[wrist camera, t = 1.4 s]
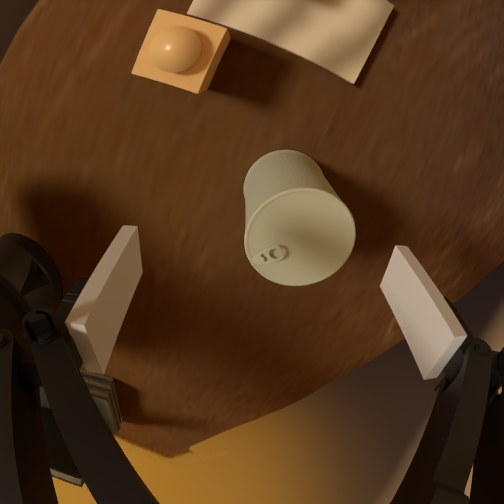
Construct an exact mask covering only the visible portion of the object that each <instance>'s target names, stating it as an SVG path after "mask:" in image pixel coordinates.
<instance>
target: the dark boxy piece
mask: <svg viewBox="0 0 504 504" xmlns="http://www.w3.org/2000/svg"><path fill="white" fill-rule="evenodd" d="M80 372H81V374H82V376H83V379H84V381H85V383H86V385H87V387H88V389H89V391H90V393H91V395H92V397H93V399H94V401H95V403H96V405H97V407H98V409H99V411H100V413H101V415H102V416H103V418H104V420H105V422H106V424H107V425H108V427H109V429H110V431H111V432H112V434H113V435H116V436H119V431H120V427H121V422H122V418H123V416H122V415H121V411H120V406H119V402H118V398H117V393H116V388H115V383H114V378H113V377H109V376H106V375H102V374H98V373H94V372H89V371H87V370H84V369H81V368H80ZM40 399H41V411H42V420H43V428H44V436H45V443H46V449H47V455H48V460H49V465H50V470H51V475H52V477H55V478H58V479H60V480H63V481H65V482H68V483H71V484H73V485H76V486H79V487H82V486H83V484H84V480H83V478H82V476H81V474H80V473H79V471H78V469H77V467H76V465H75V463H74V461H73V459H72V457H71V455H70V453H69V451H68V448H67V446H66V444H65V442H64V440H63V437H62V435H61V433H60V430H59V428H58V426H57V423H56V421H55V418H54V416H53V413H52V411H51V408H50V405H49V403H48V400H47V397H46V394H45V391H44V388H43V387H40Z"/></svg>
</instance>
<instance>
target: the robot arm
mask: <svg viewBox="0 0 504 504" xmlns="http://www.w3.org/2000/svg"><path fill="white" fill-rule="evenodd" d="M142 273H143V270H142V262H141V254H140V245H139V236H138V226H126V225H123V226H122V228H121V229H120V231H119V232H118V234H117V235H116V237H115V238H114V240H113V241H112V243H111V244H110V246H109V248H108V249H107V251H106V252H105V254H104V255H103V257H102V259H101V260H100V262H99V263H98V265H97V267H96V268H95V270H94V272H93V273H92V275H91V277H90V278H79V279H78V280H76V281H75V282H74V283H73V284H72V285H71V286H70V288H69V289H68V291H67V293H66V294H65V296H64V298H63V299H62V301H61V303H60V304H59V302H60V300H61V298H62V292H63V289H62V282H61V279H60V276H59V273H58V271H57V269H56V267H55V265H54V264H53V262H52V261H51V259H50V258H49V257H48V255H47V254H46V253H45V252H44V251H43V250H42V249H41V248H40V247H39V246H38V245H37V244H35V243H34V242H33V241H31V240H29V239H28V238H26V237H24V236H21V235H18V234H5V235H3V236H1V237H0V504H58V500H57V496H56V493H55V488H54V484H53V480H52V475H51V470H50V465H49V460H48V455H47V449H46V443H45V436H44V428H43V420H42V411H41V399H40V387H43V388H44V391H45V394H46V397H47V400H48V403H49V405H50V408H51V411H52V413H53V416H54V418H55V421H56V423H57V426H58V428H59V430H60V433H61V435H62V437H63V440H64V442H65V444H66V446H67V448H68V451H69V453H70V455H71V457H72V459H73V461H74V463H75V465H76V467H77V469H78V471H79V473H80V474H81V476H82V478H83V480H84V482H85V484H86V485H87V487H88V489H89V491H90V492H91V494H92V496H93V497H94V499H95V501H96V503H97V504H159V502H158V501H157V500H156V498H155V497H154V496H153V495H152V493H151V492H150V490H149V489H148V488H147V486H146V485H145V484H144V482H143V481H142V479H141V478H140V476H139V475H138V474H137V472H136V471H135V469H134V468H133V466H132V465H131V463H130V462H129V460H128V459H127V457H126V456H125V454H124V452H123V451H122V449H121V447H120V446H119V444H118V443H117V441H116V439H115V438H114V436H113V434H112V432H111V431H110V429H109V427H108V425H107V424H106V422H105V420H104V418H103V416H102V415H101V413H100V411H99V409H98V407H97V405H96V403H95V401H94V399H93V397H92V395H91V393H90V391H89V389H88V387H87V385H86V383H85V381H84V379H83V376H82V374H81V372H80V368H81V366H82V363H83V364H84V366H85V368H86V370H87V371H89V372H94V373H99V374H104V373H105V370H106V367H107V364H108V361H109V359H110V356H111V353H112V350H113V347H114V344H115V342H116V339H117V336H118V333H119V331H120V328H121V325H122V323H123V320H124V317H125V315H126V312H127V310H128V307H129V305H130V302H131V300H132V297H133V295H134V292H135V290H136V287H137V285H138V282H139V280H140V278H141V275H142ZM380 287H381V289H382V291H383V293H384V295H385V297H386V299H387V301H388V303H389V305H390V307H391V309H392V311H393V313H394V315H395V317H396V319H397V321H398V324H399V326H400V328H401V330H402V332H403V334H404V336H405V338H406V341H407V343H408V345H409V347H410V349H411V351H412V354H413V356H414V358H415V361H416V363H417V365H418V367H419V370H420V372H421V374H422V377H423V379H424V380H426V379H432V378H437V376H438V375H439V374H440V373H441V371H442V370H443V369H444V372H445V374H446V375H445V376H444V378H443V379H442V380H441V382H440V383H439V384H438V385H437V386H436V388H435V389H434V390H435V391H436V390H437V389H438V388H439V387H440V389H439V392H438V395H437V398H436V401H435V404H434V407H433V410H432V413H431V416H430V418H429V421H428V423H427V426H426V429H425V431H424V434H423V436H422V439H421V441H420V444H419V446H418V449H417V451H416V453H415V455H414V458H413V460H412V462H411V464H410V466H409V468H408V470H407V473H406V475H405V477H404V479H403V481H402V483H401V484H400V486H399V488H398V490H397V492H396V494H395V496H394V498H393V500H392V501H391V502H390V504H504V347H503V349H502V350H501V351H500V352H497V351H492V350H491V348H490V346H489V345H488V344H487V343H486V342H485V341H483V340H481V339H478V338H474V337H473V336H472V334H471V332H470V330H469V329H468V327H467V325H466V324H465V322H464V321H463V319H461V316H460V314H459V313H457V310H456V308H455V307H454V305H453V304H452V303H451V302H450V301H449V300H448V299H447V298H446V297H443V296H442V295H441V293H440V292H439V290H438V289H437V287H436V286H435V284H434V283H433V281H432V280H431V278H430V277H429V276H428V274H427V273H426V271H425V270H424V269H423V267H422V266H421V264H420V263H419V262H418V260H417V259H416V258H415V256H414V255H413V254H412V252H411V251H410V250H409V248H408V247H407V246H399V245H395V248H394V251H393V253H392V256H391V259H390V262H389V264H388V267H387V269H386V272H385V275H384V277H383V280H382V282H381V285H380ZM58 304H59V306H58ZM57 306H58V308H57V309H56V307H57ZM55 309H56V311H55V313H54V314H53V312H54V310H55ZM501 386H502V392H501V394H498V389H500V387H501ZM473 462H474V463H473ZM472 465H473V475H472V484H471V492H470V499H469V497H468V496H466V495H465V494H464V491H465V487H466V484H467V481H468V478H469V475H470V472H471V468H472Z"/></svg>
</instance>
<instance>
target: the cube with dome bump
mask: <svg viewBox="0 0 504 504" xmlns="http://www.w3.org/2000/svg"><path fill="white" fill-rule="evenodd" d="M230 39H231V38H230V35H229V32H228V30H227V28H224V27H221V26H218V25H215V24H211V23H208V22H205V21H202V20H198V19H195V18H191V17H188V16H184V15H180V14H176V13H172V12H168V11H164V10H160V9H158V11H157V13H156V15H155V17H154V19H153V21H152V24H151V26H150V28H149V30H148V33H147V35H146V37H145V40H144V42H143V45H142V47H141V50H140V52H139V55H138V57H137V60H136V62H135V65H134V68H133V70H132V73H131V74H135V75H139V76H142V77H146V78H150V79H153V80H156V81H160V82H163V83H166V84H170V85H173V86H176V87H179V88H182V89H185V90H188V91H191V92H194V93H197V94H198V93H200V92H203V91H205V90H208V87H209V85H210V83H211V80H212V78H213V76H214V74H215V71H216V69H217V67H218V65H219V62H220V60H221V58H222V56H223V54H224V52H225V50H226V48H227V45H228V43H229V41H230Z"/></svg>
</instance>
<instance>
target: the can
mask: <svg viewBox="0 0 504 504" xmlns="http://www.w3.org/2000/svg"><path fill="white" fill-rule="evenodd" d="M244 197H245V201H246V230H245V237H244V244H245V251H246V254H247V257H248V259H249V261H250V263H251V264H252V266H253V267H254V268H255V269H256V270H257V271H258V272H259V273H260V274H261V275H262V276H264V277H265V278H267V279H269V280H271V281H273V282H276V283H279V284H283V285H289V286H302V285H309V284H312V283H316V282H319V281H321V280H323V279H325V278H327V277H329V276H330V275H332V274H333V273H335V272H336V271H337V270H338V269H339V268H340V267H341V266H342V265H343V264H344V263H345V262H346V260H347V259H348V257H349V256H350V254H351V252H352V249H353V246H354V242H355V235H356V230H355V223H354V219H353V217H352V214H351V212H350V211H349V209H348V208H347V206H346V205H345V204H344V203H343V202H342V201H341V199H340V198H339V197H338V195H337V194H336V193H335V191H334V190H333V188H332V187H331V185H330V184H329V183H328V181H327V180H326V178H325V177H324V175H323V173H322V170H321V169H320V167H319V166H318V164H317V163H316V162H315V161H314V160H313V159H312V158H310V157H309V156H307V155H305V154H303V153H301V152H298V151H294V150H278V151H274V152H271V153H268V154H266V155H264V156H263V157H261V158H260V159H258V160H257V161H256V162H255V163H254V164H253V165H252V167H251V168H250V170H249V171H248V173H247V175H246V178H245V182H244Z"/></svg>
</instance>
